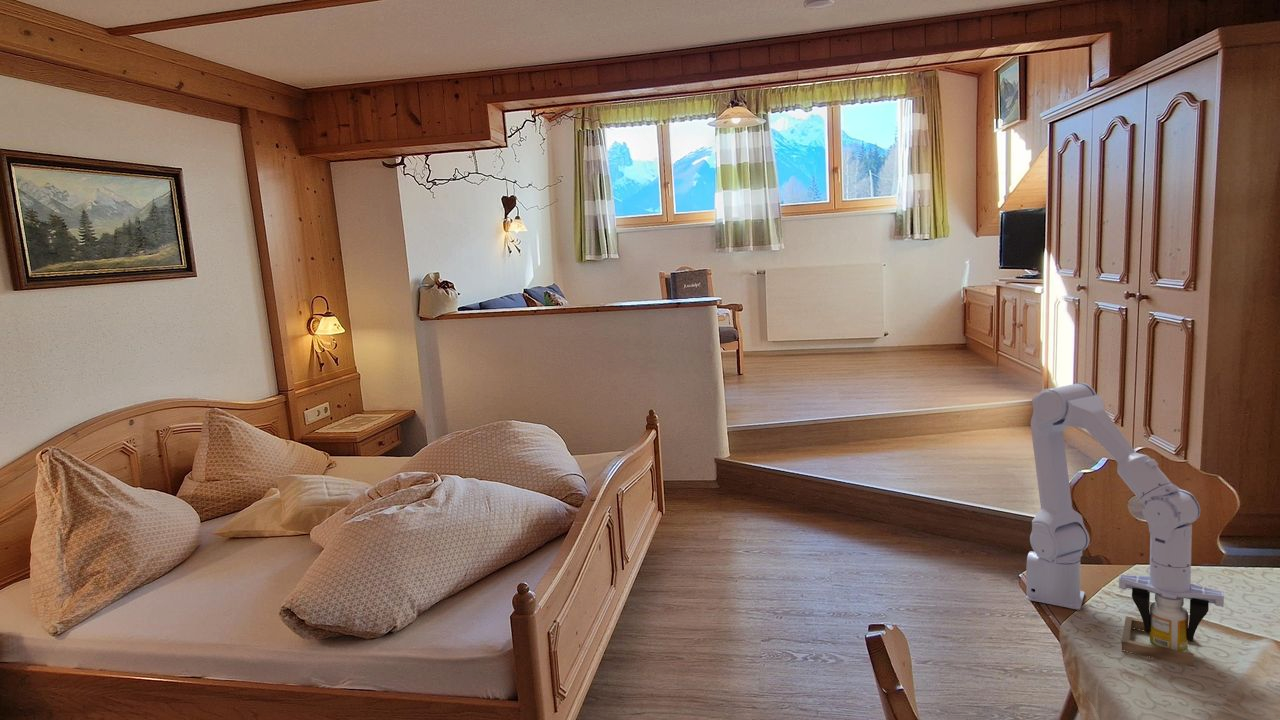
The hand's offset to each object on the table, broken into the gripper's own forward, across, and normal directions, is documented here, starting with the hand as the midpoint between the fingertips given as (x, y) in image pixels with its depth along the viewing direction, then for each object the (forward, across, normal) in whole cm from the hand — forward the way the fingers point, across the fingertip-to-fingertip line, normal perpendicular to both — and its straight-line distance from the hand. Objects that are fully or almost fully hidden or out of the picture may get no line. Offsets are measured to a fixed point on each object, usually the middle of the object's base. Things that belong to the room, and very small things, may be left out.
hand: (1168, 634), depth 125 cm
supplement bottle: (+3, 0, 0) cm, 3 cm away
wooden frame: (+2, -1, 0) cm, 3 cm away
